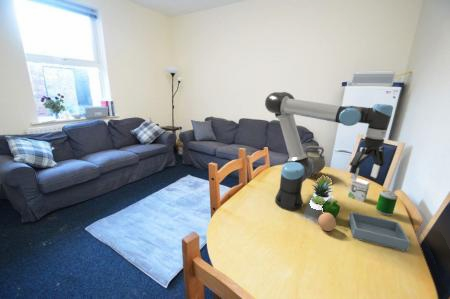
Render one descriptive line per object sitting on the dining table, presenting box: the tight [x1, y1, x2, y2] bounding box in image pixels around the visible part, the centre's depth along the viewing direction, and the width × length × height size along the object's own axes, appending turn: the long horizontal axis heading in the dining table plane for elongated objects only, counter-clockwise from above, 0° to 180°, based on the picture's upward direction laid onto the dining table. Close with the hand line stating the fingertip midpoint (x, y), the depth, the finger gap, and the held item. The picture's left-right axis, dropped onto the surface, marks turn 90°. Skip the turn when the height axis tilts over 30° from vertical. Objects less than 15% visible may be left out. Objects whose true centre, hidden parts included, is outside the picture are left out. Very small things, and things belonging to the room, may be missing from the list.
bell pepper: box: [321, 200, 341, 219], centre depth 106 cm, size 8×8×10 cm
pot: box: [303, 145, 326, 177], centre depth 158 cm, size 21×21×25 cm
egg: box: [317, 213, 337, 232], centre depth 97 cm, size 7×7×8 cm
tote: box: [348, 211, 411, 252], centre depth 95 cm, size 20×15×5 cm
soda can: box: [375, 189, 398, 217], centre depth 112 cm, size 8×8×12 cm
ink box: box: [347, 177, 371, 203], centre depth 126 cm, size 9×5×12 cm, turn 39°
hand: (363, 178), depth 105 cm, fingers open, 13 cm apart
